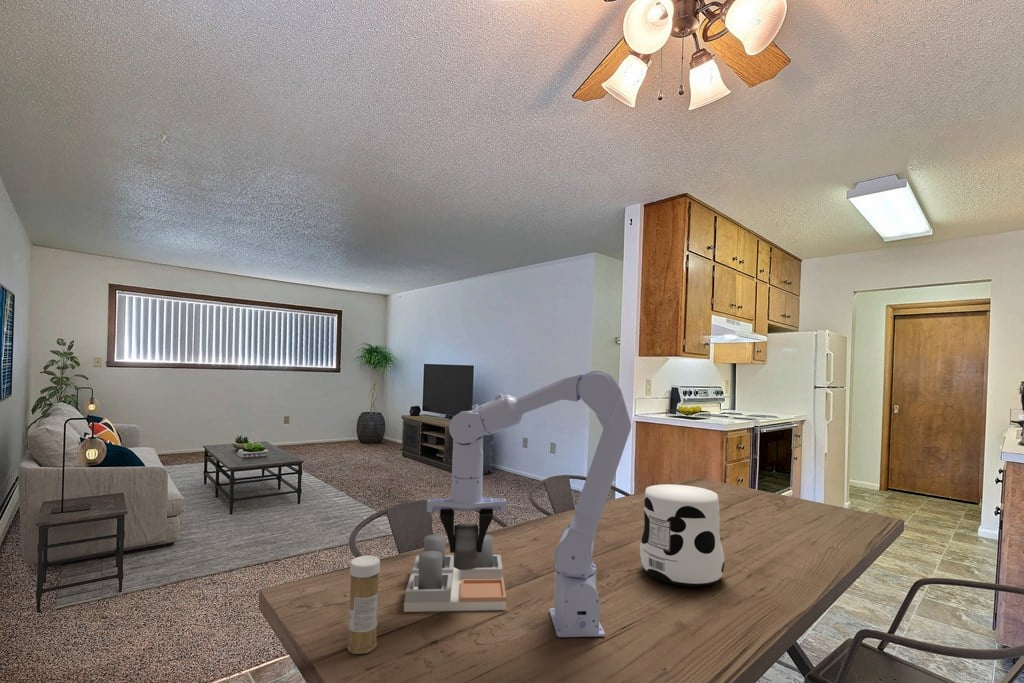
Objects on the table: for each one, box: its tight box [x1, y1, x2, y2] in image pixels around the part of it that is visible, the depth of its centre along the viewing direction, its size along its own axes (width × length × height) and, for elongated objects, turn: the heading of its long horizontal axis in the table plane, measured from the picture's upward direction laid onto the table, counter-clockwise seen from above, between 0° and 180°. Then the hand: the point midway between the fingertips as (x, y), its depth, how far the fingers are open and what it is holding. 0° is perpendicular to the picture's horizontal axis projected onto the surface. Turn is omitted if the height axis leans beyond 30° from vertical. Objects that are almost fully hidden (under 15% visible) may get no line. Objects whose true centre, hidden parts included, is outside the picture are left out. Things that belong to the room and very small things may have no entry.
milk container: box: [639, 483, 725, 587], centre depth 110 cm, size 17×17×18 cm
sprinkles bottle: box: [347, 555, 381, 655], centre depth 80 cm, size 5×5×14 cm
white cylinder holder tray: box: [403, 533, 507, 613], centre depth 101 cm, size 18×18×8 cm
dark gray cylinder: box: [453, 522, 479, 570], centre depth 94 cm, size 4×4×7 cm
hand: (465, 550), depth 94 cm, fingers closed on dark gray cylinder, 4 cm apart
